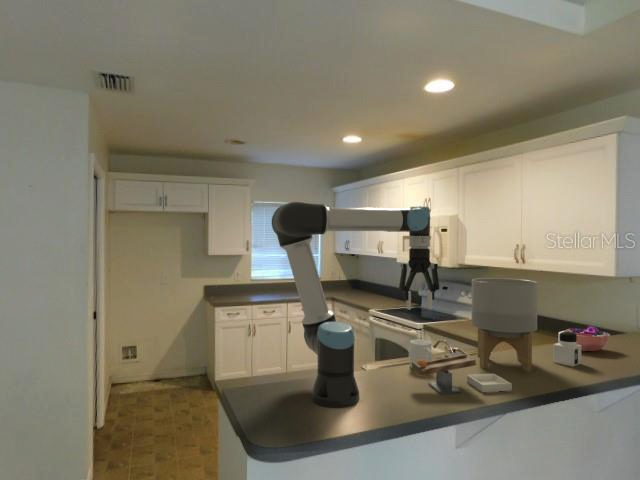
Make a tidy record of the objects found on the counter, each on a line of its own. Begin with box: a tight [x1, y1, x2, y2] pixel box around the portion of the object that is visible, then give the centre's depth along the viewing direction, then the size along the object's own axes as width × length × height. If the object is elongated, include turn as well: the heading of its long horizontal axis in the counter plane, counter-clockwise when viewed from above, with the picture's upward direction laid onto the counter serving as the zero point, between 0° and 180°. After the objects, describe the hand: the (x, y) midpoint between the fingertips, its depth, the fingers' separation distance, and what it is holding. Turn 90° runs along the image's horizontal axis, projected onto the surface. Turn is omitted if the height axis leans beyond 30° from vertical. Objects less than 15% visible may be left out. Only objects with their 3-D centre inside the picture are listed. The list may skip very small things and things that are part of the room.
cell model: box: [563, 325, 611, 352], centre depth 197 cm, size 17×20×11 cm
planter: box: [471, 277, 538, 373], centre depth 175 cm, size 25×25×34 cm
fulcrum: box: [427, 370, 461, 395], centre depth 144 cm, size 7×10×7 cm
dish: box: [466, 373, 513, 394], centre depth 147 cm, size 11×11×3 cm
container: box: [552, 330, 582, 367], centre depth 176 cm, size 8×8×13 cm
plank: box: [411, 351, 477, 377], centre depth 147 cm, size 20×13×3 cm, turn 99°
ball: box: [417, 359, 427, 369], centre depth 143 cm, size 3×3×3 cm
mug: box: [409, 339, 434, 369], centre depth 166 cm, size 12×8×10 cm
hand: (419, 308), depth 158 cm, fingers open, 8 cm apart
